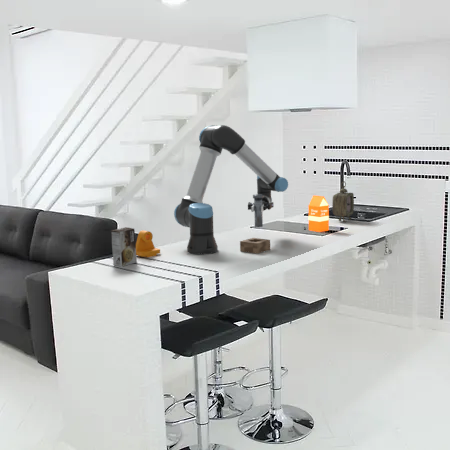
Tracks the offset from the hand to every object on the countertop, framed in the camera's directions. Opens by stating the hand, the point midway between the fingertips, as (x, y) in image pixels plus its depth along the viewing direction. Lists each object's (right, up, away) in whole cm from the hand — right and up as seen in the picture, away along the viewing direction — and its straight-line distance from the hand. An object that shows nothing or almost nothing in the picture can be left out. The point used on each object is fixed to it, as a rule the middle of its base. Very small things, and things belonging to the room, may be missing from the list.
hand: (257, 209), depth 287 cm
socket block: (-1, -20, -1) cm, 20 cm away
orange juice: (+38, -11, +49) cm, 63 cm away
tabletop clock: (+58, -6, +78) cm, 98 cm away
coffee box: (-62, -26, -20) cm, 70 cm away
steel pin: (+1, -9, +7) cm, 11 cm away
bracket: (-53, -23, -4) cm, 58 cm away
